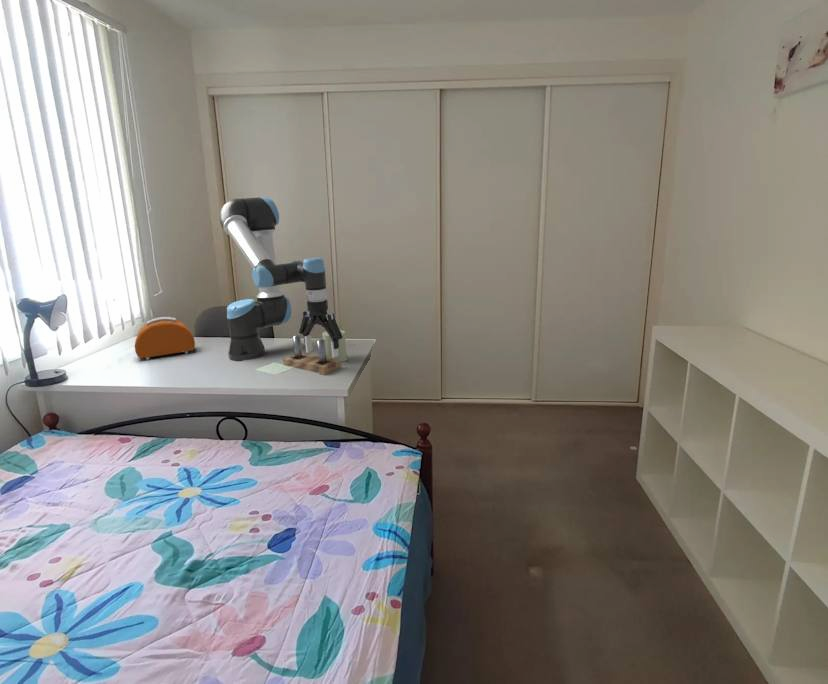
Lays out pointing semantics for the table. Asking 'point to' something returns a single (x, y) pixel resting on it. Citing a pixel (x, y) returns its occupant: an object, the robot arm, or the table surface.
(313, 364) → the socket block
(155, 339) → the alarm clock
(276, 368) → the mat
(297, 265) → the robot arm
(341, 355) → the can
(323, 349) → the pin
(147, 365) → the table surface
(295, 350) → the pin
